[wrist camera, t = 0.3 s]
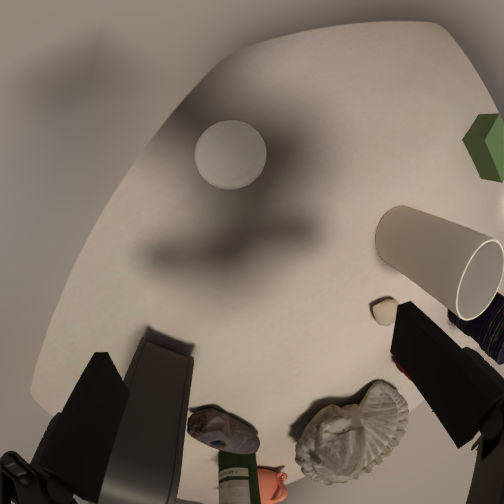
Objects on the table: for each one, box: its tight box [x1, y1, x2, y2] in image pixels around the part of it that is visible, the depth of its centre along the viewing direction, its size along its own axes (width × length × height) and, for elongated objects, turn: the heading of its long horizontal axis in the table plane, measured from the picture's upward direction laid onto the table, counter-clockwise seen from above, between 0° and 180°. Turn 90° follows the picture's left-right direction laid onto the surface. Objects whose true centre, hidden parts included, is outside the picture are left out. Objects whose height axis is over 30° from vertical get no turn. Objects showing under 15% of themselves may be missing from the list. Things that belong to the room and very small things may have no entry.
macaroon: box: [373, 299, 399, 326], centre depth 35 cm, size 4×5×2 cm
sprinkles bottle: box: [194, 120, 267, 190], centre depth 22 cm, size 5×5×14 cm
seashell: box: [295, 381, 409, 485], centre depth 38 cm, size 19×20×20 cm
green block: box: [463, 114, 504, 183], centre depth 27 cm, size 8×8×5 cm
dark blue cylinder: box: [448, 292, 504, 365], centre depth 31 cm, size 10×10×15 cm
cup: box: [375, 206, 504, 320], centre depth 25 cm, size 8×8×16 cm
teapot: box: [257, 468, 287, 504], centre depth 45 cm, size 22×16×12 cm
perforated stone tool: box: [187, 408, 260, 454], centre depth 38 cm, size 15×5×7 cm, turn 43°
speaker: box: [88, 337, 194, 504], centre depth 26 cm, size 25×9×25 cm, turn 154°
